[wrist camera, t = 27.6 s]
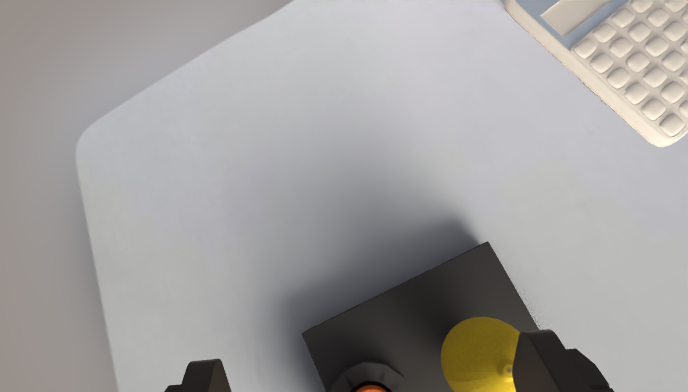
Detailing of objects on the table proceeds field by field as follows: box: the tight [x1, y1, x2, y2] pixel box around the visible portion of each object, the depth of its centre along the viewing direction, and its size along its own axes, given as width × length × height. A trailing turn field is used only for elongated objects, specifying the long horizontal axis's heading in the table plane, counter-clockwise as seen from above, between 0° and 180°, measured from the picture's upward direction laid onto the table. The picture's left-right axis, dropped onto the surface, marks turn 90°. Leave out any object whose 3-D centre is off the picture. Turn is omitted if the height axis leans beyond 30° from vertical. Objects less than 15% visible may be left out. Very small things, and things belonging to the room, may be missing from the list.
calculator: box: [504, 0, 688, 147], centre depth 38 cm, size 13×20×2 cm, turn 39°
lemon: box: [441, 317, 520, 392], centre depth 26 cm, size 6×6×8 cm
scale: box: [302, 242, 539, 392], centre depth 30 cm, size 16×13×4 cm
